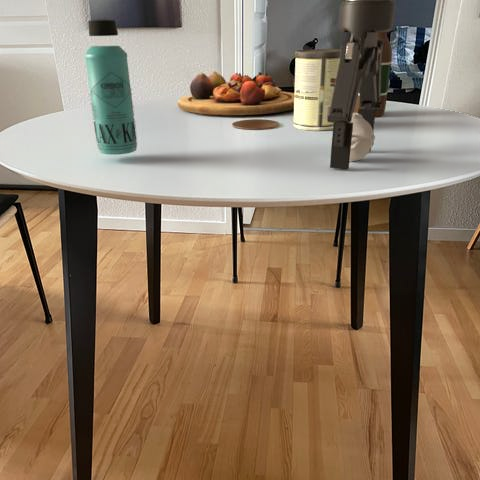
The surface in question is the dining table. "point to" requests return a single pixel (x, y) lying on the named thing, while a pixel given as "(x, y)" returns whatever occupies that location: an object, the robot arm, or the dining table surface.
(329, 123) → the coffee can
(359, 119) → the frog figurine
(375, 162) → the dining table surface
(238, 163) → the dining table surface
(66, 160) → the dining table surface
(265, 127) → the coaster
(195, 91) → the wooden plate
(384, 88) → the beer bottle
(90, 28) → the beverage bottle
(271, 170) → the dining table surface
